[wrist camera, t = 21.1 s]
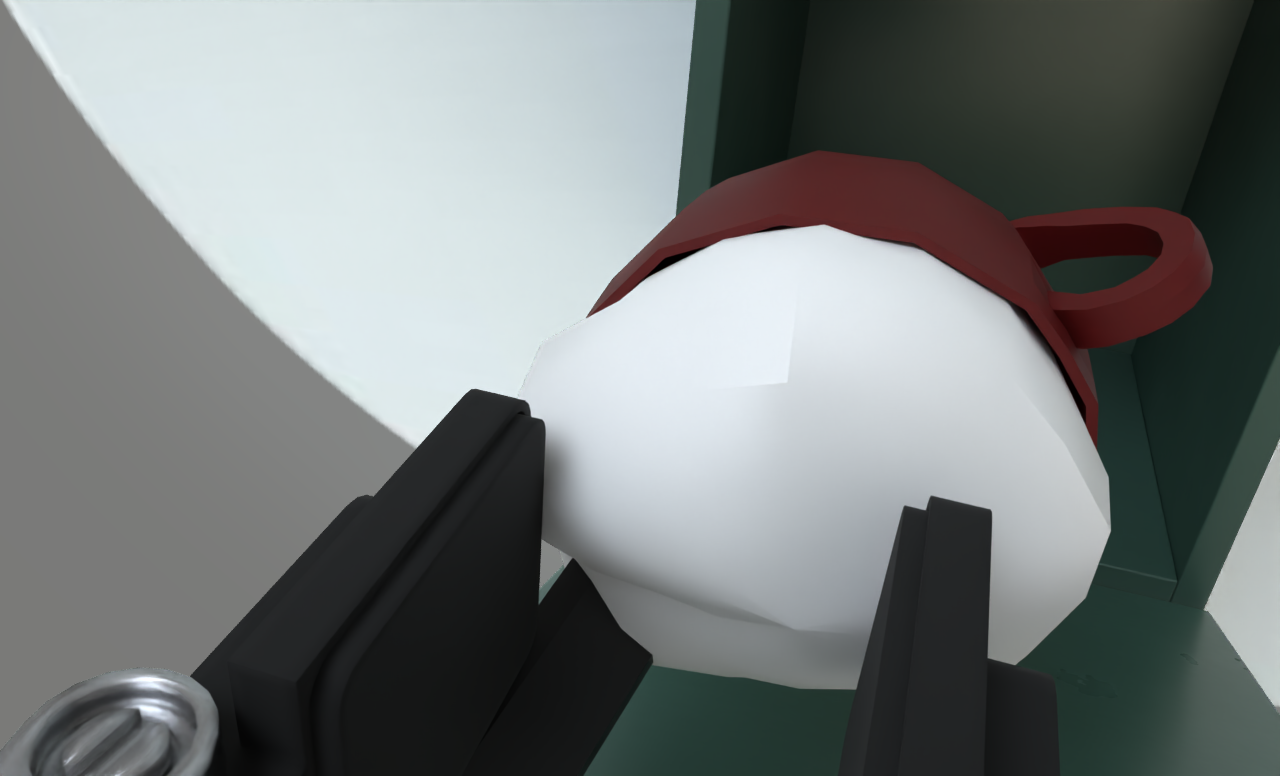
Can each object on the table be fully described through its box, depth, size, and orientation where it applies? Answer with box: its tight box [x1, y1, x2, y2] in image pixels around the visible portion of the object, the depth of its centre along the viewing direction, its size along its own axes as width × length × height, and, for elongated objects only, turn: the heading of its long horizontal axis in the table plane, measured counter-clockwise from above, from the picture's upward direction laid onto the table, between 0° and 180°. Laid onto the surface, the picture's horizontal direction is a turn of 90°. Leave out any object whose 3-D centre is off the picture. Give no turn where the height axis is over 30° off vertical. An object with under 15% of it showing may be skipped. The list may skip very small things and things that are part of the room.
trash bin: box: [676, 0, 1280, 610], centre depth 30 cm, size 18×15×14 cm
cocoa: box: [462, 150, 1213, 776], centre depth 11 cm, size 10×6×12 cm, turn 103°
